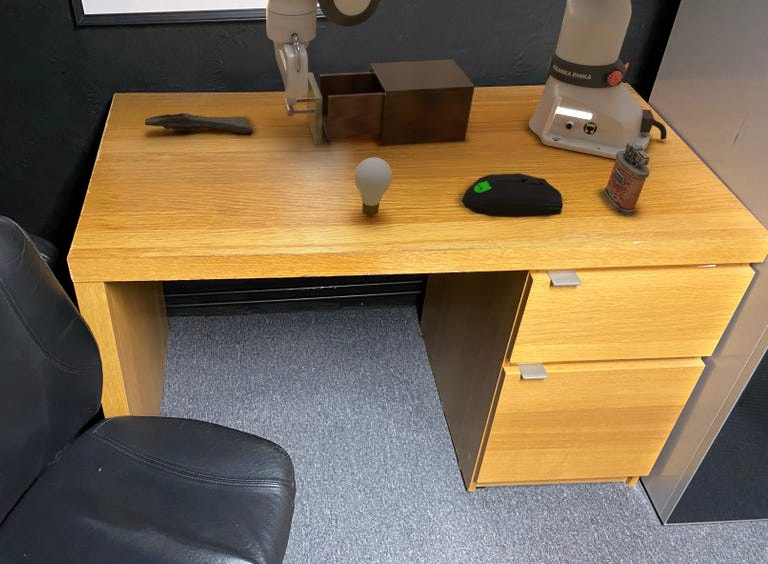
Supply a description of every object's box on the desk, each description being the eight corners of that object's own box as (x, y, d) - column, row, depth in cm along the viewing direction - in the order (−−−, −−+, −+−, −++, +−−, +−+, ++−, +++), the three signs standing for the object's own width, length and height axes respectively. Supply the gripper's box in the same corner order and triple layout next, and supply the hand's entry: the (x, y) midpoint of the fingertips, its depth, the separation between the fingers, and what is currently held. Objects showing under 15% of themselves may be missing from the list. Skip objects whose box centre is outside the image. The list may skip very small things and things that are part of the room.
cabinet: (380, 146, 133) (385, 91, 125) (366, 116, 142) (370, 63, 135) (464, 140, 134) (474, 86, 127) (444, 111, 144) (453, 59, 137)
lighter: (598, 191, 120) (617, 136, 113) (617, 190, 120) (637, 135, 113) (618, 215, 114) (639, 159, 107) (638, 214, 114) (660, 158, 107)
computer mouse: (454, 184, 122) (457, 163, 119) (545, 180, 122) (551, 159, 120) (471, 219, 113) (475, 197, 111) (569, 214, 114) (576, 193, 111)
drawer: (289, 145, 131) (289, 99, 125) (281, 117, 140) (281, 73, 134) (394, 139, 133) (399, 93, 127) (380, 112, 142) (384, 68, 136)
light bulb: (364, 228, 111) (369, 172, 105) (345, 211, 115) (348, 155, 108) (394, 219, 113) (401, 163, 107) (375, 203, 117) (380, 147, 110)
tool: (247, 124, 143) (248, 109, 141) (253, 138, 137) (254, 122, 135) (144, 123, 138) (143, 107, 137) (145, 137, 132) (145, 121, 131)
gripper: (318, 45, 115) (315, 125, 124) (301, 7, 130) (300, 81, 139) (280, 46, 114) (280, 126, 124) (267, 8, 129) (268, 82, 139)
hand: (290, 102), depth 132 cm, fingers closed, pressing on drawer
